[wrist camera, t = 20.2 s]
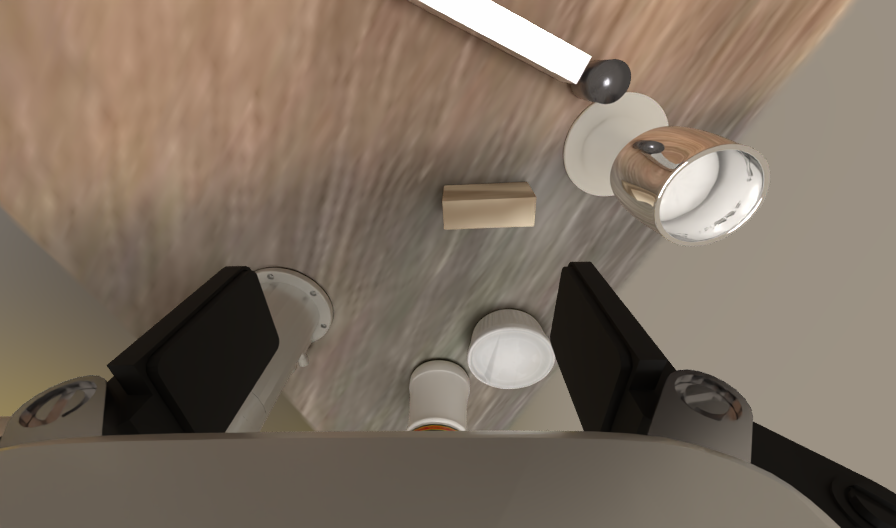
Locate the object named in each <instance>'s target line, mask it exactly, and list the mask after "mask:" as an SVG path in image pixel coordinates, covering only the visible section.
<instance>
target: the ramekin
mask: <svg viewBox="0 0 896 528" xmlns="http://www.w3.org/2000/svg"><path fill="white" fill-rule="evenodd" d="M467 362H468V366H469V369H470V370H471V372H472V373H473V375H474V376H475V377H476V378H477V379H479V380H480V381H481V382H483V383H485V384H487V385H490V386H493V387H496V388H502V389H516V388H522V387H526V386H529V385H532V384H534V383H536V382H538V381H540V380H541V379H543V378H544V377H545V376H546V375H547V374H548V373H549V372H550V370H551V369H552V367H553V365H554V362H555V354H554V352H553V349H552V346H551V342H550V340H549V338H548V337H547V336H546V335H545V333H544V331H543V330H542V328H541V326H540V324H539V323H538V322H537V321H536V319H534V318H533V317H532V316H530V315H529V314H527V313H525V312H522V311H518V310H513V309H504V310H498V311H495V312H492V313H490V314H488V315H486V316H485V317H484V318H482V319H481V320H480V321H479V322H478V323H477V325H476V327H475V328H474V331H473V335H472V339H471V343H470V345H469V348H468V352H467Z"/></svg>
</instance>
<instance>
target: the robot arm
mask: <svg viewBox="0 0 896 528" xmlns="http://www.w3.org/2000/svg"><path fill="white" fill-rule="evenodd" d="M332 320H333V308H332V304H331V302H330V300H329V298H328V296H327V294H326V293H325V292H324V291H323V289H322V288H321V287H320V286H319V285H317V284H316V283H315V282H314V281H312V280H311V279H309V278H308V277H306V276H304V275H302V274H300V273H298V272H295V271H292V270H289V269H283V268H265V269H260V270H258V271H251V269H250V268H249V267H247V266H227V267H224V268H223V269H222V270H220V271H219V272H218V273H217V274H216V275H214V276H213V277H212V278H211V279H210V280H208V281H207V282H206V283H205V284H204V285H202V286H201V287H200V288H199V289H198V290H196V291H195V292H194V293H193V294H192V295H190V296H189V297H188V298H187V299H186V300H184V301H183V302H182V303H181V304H180V305H178V306H177V307H176V308H175V309H174V310H172V311H171V312H170V313H169V314H168V315H166V316H165V317H164V318H163V319H162V320H160V321H159V322H158V323H157V324H156V325H154V326H153V327H152V328H151V329H150V330H148V331H147V332H146V333H145V334H144V335H142V336H141V337H140V338H139V339H138V340H136V341H135V342H134V343H133V344H132V345H131V346H129V347H128V348H127V349H126V350H125V351H123V352H122V353H121V354H120V355H119V356H117V357H116V358H115V359H114V360H112V361H111V362H110V363H109V364H108V365H107V367H108V368H109V369H110V371H111V372H112V374H113V375H114V377H113V378H111V379H110V380H109V381H108V382H107V381H106V380H105V379H104V378H102V377H100V376H93V375H89V376H83V377H77V378H74V379H71V380H68V381H65V382H62V383H60V384H58V385H55V386H53V387H50V388H48V389H47V390H45V391H43V392H42V393H39V394H38V395H36V396H34V397H33V398H32V399H30V400H29V401H27V402H26V403H24V404H23V405H22V406H21V407H20V408H19V409H18V410H17V411H16V412H15V413H14V414H13V415H12V416H11V417H8V416H0V528H896V494H895V493H894V492H892V491H890V490H888V489H887V488H885V487H883V486H881V485H879V484H878V483H876V482H874V481H872V480H870V479H868V478H866V477H864V476H862V475H860V474H858V473H856V472H854V471H852V470H850V469H848V468H846V467H844V466H842V465H840V464H838V463H836V462H834V461H832V460H830V459H828V458H826V457H824V456H822V455H820V454H818V453H816V452H813V451H811V450H809V449H808V448H805V447H803V446H801V445H799V444H797V443H795V442H793V441H791V440H789V439H787V438H785V437H783V436H781V435H779V434H777V433H775V432H773V431H771V430H769V429H767V428H765V427H763V426H761V425H759V424H757V423H755V422H753V415H752V410H751V407H750V405H749V404H748V403H747V401H746V399H745V398H744V397H743V396H742V395H741V394H740V393H739V392H738V391H737V390H736V389H734V388H733V387H731V386H730V385H729V384H727V383H726V382H724V381H722V380H720V379H718V378H716V377H714V376H712V375H709V374H706V373H703V372H700V371H695V370H677V371H676V370H675V368H674V367H673V366H672V365H671V363H670V362H669V361H668V359H667V358H666V357H665V356H664V354H663V353H662V352H661V350H660V349H659V348H658V347H657V345H656V344H655V343H654V342H653V340H652V339H651V338H650V336H649V335H648V334H647V333H646V331H645V330H644V329H643V327H642V326H641V325H640V324H639V323H638V321H637V320H636V319H635V317H634V316H633V315H632V314H631V312H630V311H629V310H628V308H627V307H626V306H625V305H624V303H623V302H622V301H621V300H620V298H619V297H618V296H617V295H616V293H615V292H614V291H613V289H612V288H611V287H610V286H609V284H608V283H607V282H606V280H605V279H604V278H603V277H602V275H601V274H600V273H599V271H598V270H597V269H596V268H595V266H594V265H593V264H592V263H591V262H570V263H569V265H568V267H563V269H562V272H561V278H560V283H559V289H558V295H557V300H556V306H555V312H554V317H553V323H552V329H551V334H550V342H551V346H552V349H553V352H554V354H555V357H556V360H557V362H558V365H559V367H560V370H561V373H562V375H563V378H564V380H565V383H566V385H567V388H568V391H569V393H570V396H571V399H572V401H573V404H574V406H575V409H576V412H577V414H578V417H579V419H580V422H581V425H582V427H583V430H584V431H328V432H259V431H260V430H261V428H262V426H263V424H264V422H265V420H266V419H267V417H268V415H269V413H270V411H271V410H272V408H273V406H274V404H275V402H276V400H277V399H278V397H279V395H280V393H281V391H282V390H283V388H284V386H285V384H286V382H287V380H288V379H289V377H290V375H291V373H293V372H294V371H295V370H296V368H297V366H296V364H297V362H298V363H299V365H300V366H301V367H304V366H306V365H308V364H309V359H308V356H307V354H306V351H307V349H308V347H309V346H310V344H311V343H312V342H315V341H317V340H319V339H320V338H322V337H323V336H324V335H325V334H326V332H327V331H328V330H329V328H330V325H331V323H332Z"/></svg>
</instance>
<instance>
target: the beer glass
mask: <svg viewBox="0 0 896 528" xmlns="http://www.w3.org/2000/svg"><path fill="white" fill-rule="evenodd" d="M582 162H583V165H584V167H585V169H586V171H587V172H588V173H589V174H590V175H592V176H593V177H595V178H597V179H600V180H604V181H607V183H608V185H609V186H610V188H611V190H612V192H613V193H614V195H615V196H616V198H617V199H618V201H619V202H620V203H621V205H622V206H623V207H624V208H625V209H626V210H627V211H628V212H629V213H630V214H631V215H632V216H633V217H635V218H636V219H637V220H639V221H640V222H641V223H643V224H644V225H646V226H647V227H649V228H650V229H652V230H653V231H655V232H657V233H659V234H660V235H662V236H663V237H664V238H666V239H667V240H668V241H670V242H672V243H675V244H678V245H682V246H702V245H706V244H710V243H714V242H717V241H719V240H721V239H723V238H726V237H727V236H729V235H731V234H733V233H734V232H736V231H737V230H739V229H740V228H741V227H742V226H744V225H745V224H746V223H747V222H748V221H749V220H750V219H751V218H752V217H753V216H754V215H755V213H756V212H757V211H758V210H759V208H760V207H761V205H762V203H763V201H764V200H765V198H766V195H767V193H768V190H769V186H770V169H769V165H768V163H767V161H766V159H765V157H764V156H763V155H762V154H761V153H760V152H758V151H757V150H756V149H754V148H752V147H749V146H746V145H742V144H739V143H737V142H735V141H732V140H730V139H727V138H725V137H722V136H719V135H717V134H713V133H710V132H707V131H704V130H699V129H694V128H689V127H680V126H659V127H643V126H642V125H641V124H639V123H638V122H637V121H635V120H634V119H631V118H628V117H613V118H610V119H607V120H605V121H603V122H601V123H600V124H598V125H597V126H596V127H595V128H594V129H593V130H592V131H591V132H590V133H589V135H588V136H587V138H586V140H585V142H584V145H583V148H582Z"/></svg>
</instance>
